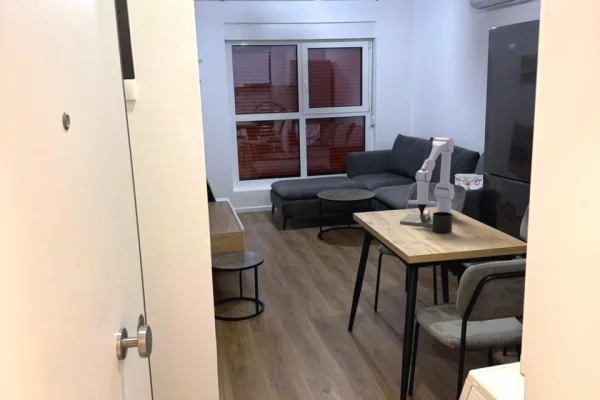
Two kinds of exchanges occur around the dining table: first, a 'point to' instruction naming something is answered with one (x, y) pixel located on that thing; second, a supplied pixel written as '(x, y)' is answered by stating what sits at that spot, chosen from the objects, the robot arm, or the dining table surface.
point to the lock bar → (425, 216)
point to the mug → (442, 222)
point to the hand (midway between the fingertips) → (421, 218)
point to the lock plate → (416, 220)
